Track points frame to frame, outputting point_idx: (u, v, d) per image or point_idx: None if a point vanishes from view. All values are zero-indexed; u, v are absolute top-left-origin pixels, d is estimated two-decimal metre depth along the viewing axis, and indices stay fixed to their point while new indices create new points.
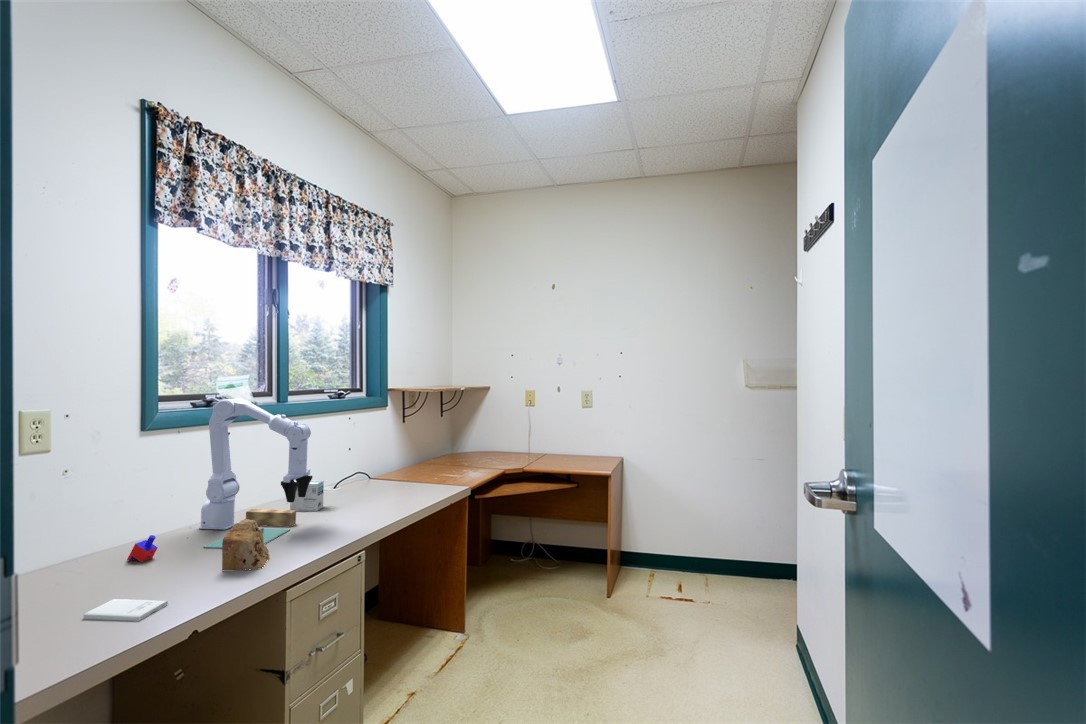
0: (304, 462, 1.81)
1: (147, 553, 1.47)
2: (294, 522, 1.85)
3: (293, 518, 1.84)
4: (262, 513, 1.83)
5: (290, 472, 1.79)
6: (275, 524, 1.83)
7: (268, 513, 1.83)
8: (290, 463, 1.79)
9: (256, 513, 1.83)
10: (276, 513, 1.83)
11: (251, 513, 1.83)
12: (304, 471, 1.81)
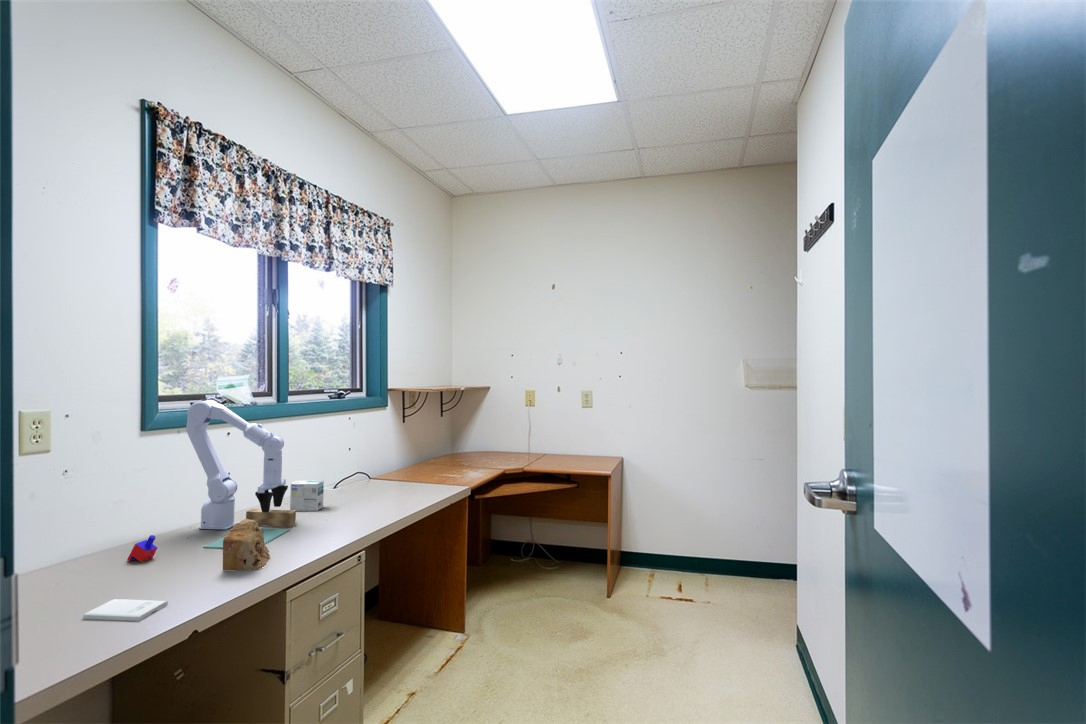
0: (279, 472, 1.84)
1: (147, 553, 1.47)
2: (294, 522, 1.85)
3: (293, 518, 1.84)
4: (262, 513, 1.83)
5: (265, 482, 1.82)
6: (275, 524, 1.83)
7: (268, 513, 1.83)
8: (265, 474, 1.83)
9: (256, 513, 1.83)
10: (276, 513, 1.83)
11: (251, 513, 1.83)
12: (279, 481, 1.84)
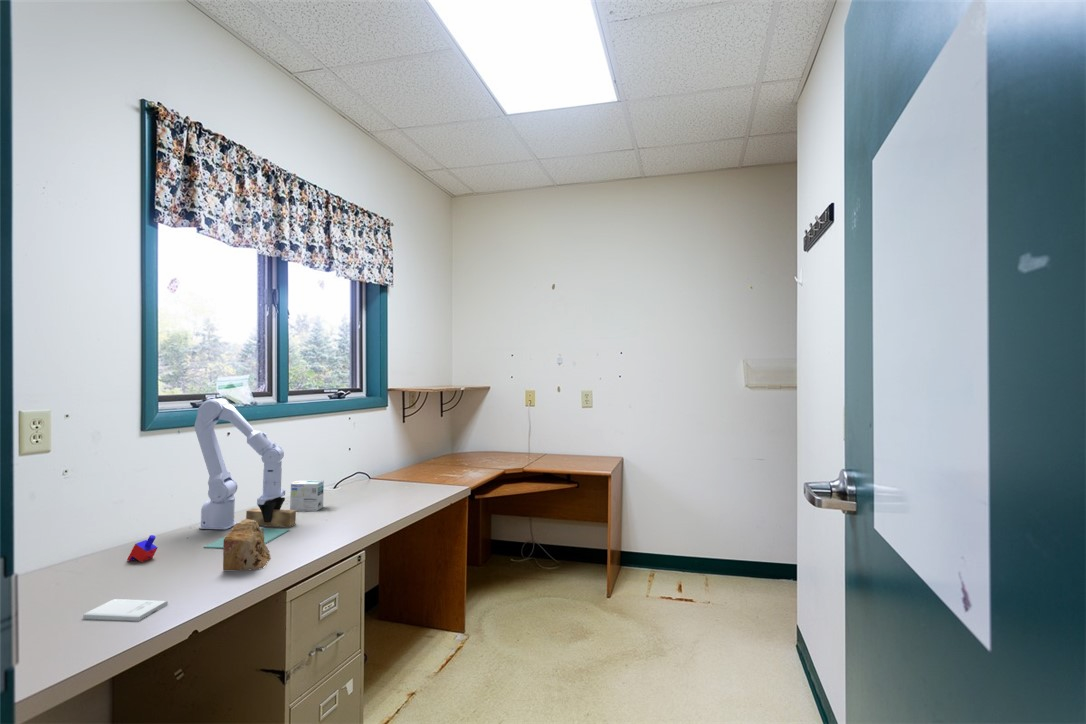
0: (278, 484, 1.84)
1: (147, 553, 1.47)
2: (294, 522, 1.85)
3: (293, 518, 1.84)
4: None
5: (264, 494, 1.82)
6: (275, 524, 1.83)
7: None
8: (264, 485, 1.83)
9: (256, 512, 1.83)
10: (276, 513, 1.83)
11: (251, 512, 1.83)
12: (278, 493, 1.84)
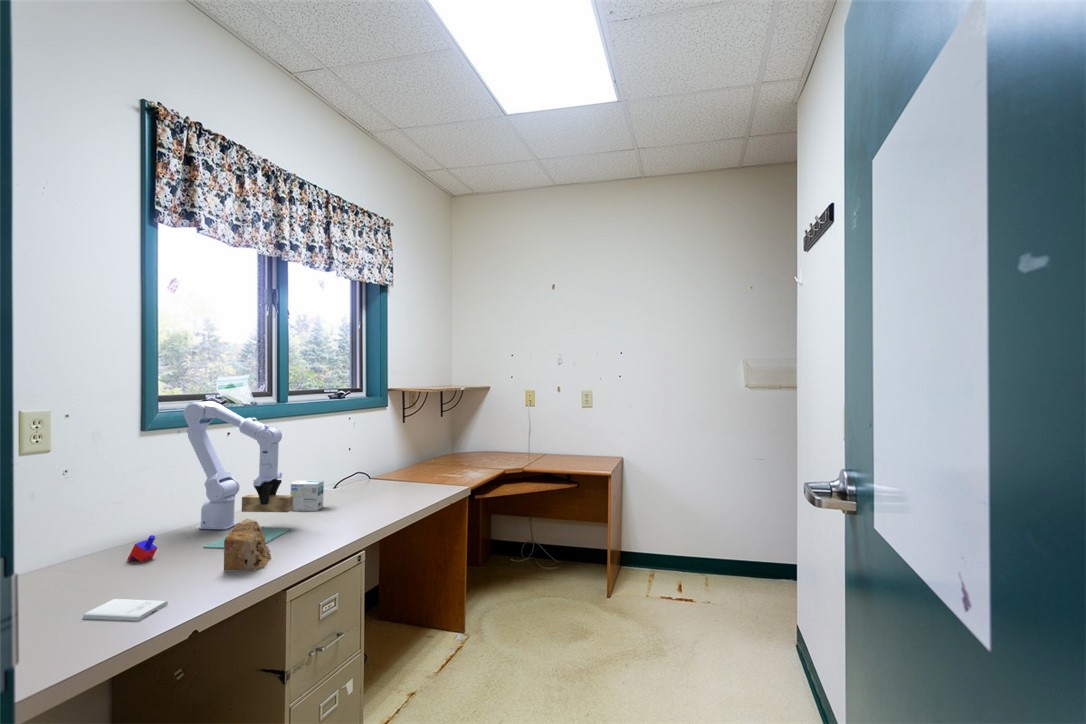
0: (275, 465, 1.81)
1: (147, 553, 1.47)
2: (291, 507, 1.82)
3: (290, 503, 1.81)
4: (258, 498, 1.80)
5: (261, 475, 1.79)
6: (272, 509, 1.80)
7: None
8: (261, 466, 1.79)
9: (252, 498, 1.80)
10: (273, 498, 1.80)
11: (247, 498, 1.80)
12: (275, 474, 1.81)
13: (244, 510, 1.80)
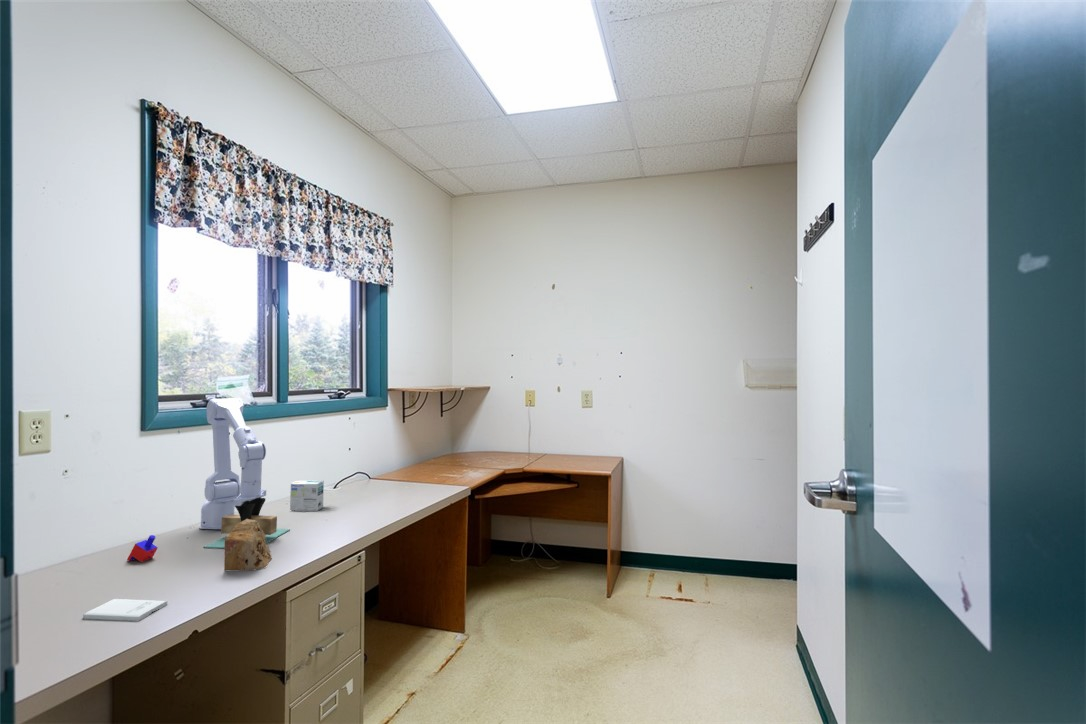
0: (258, 483, 1.68)
1: (147, 553, 1.47)
2: (275, 529, 1.69)
3: (273, 524, 1.68)
4: (239, 519, 1.67)
5: (242, 494, 1.66)
6: None
7: None
8: (242, 484, 1.67)
9: (233, 519, 1.67)
10: (255, 519, 1.67)
11: (227, 519, 1.67)
12: (258, 493, 1.68)
13: (224, 531, 1.67)
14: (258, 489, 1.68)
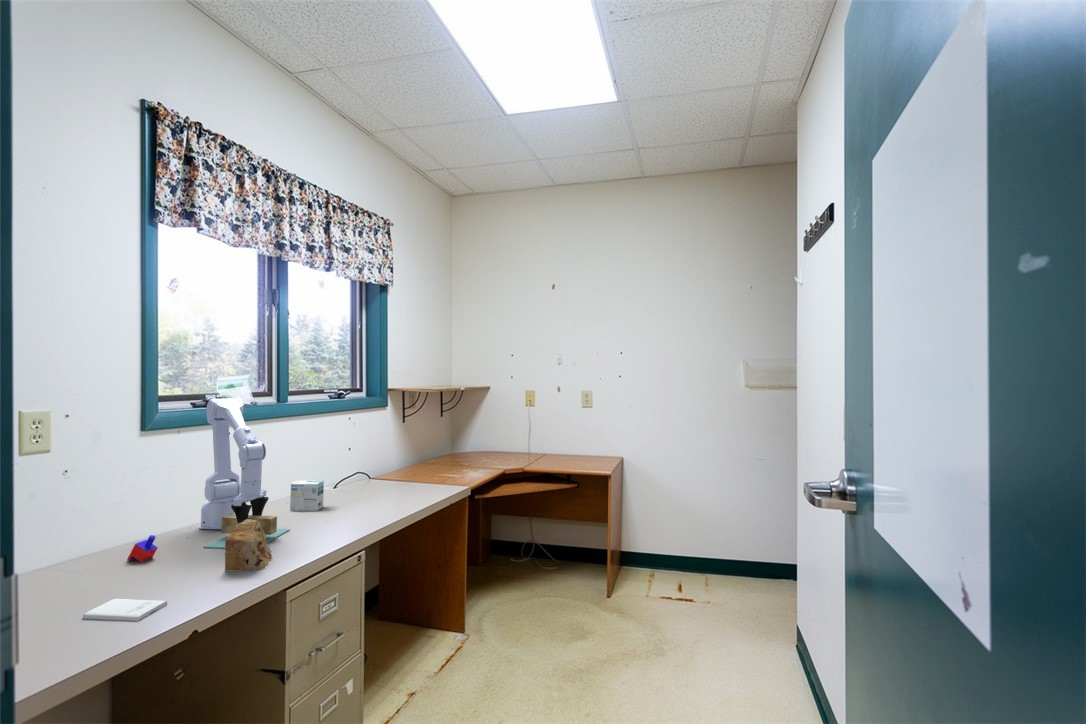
0: (258, 483, 1.68)
1: (147, 553, 1.47)
2: (275, 529, 1.69)
3: (274, 524, 1.69)
4: None
5: (242, 494, 1.66)
6: None
7: None
8: (242, 484, 1.67)
9: (233, 519, 1.67)
10: (255, 519, 1.67)
11: (227, 519, 1.67)
12: (258, 493, 1.68)
13: (224, 531, 1.67)
14: (258, 489, 1.68)
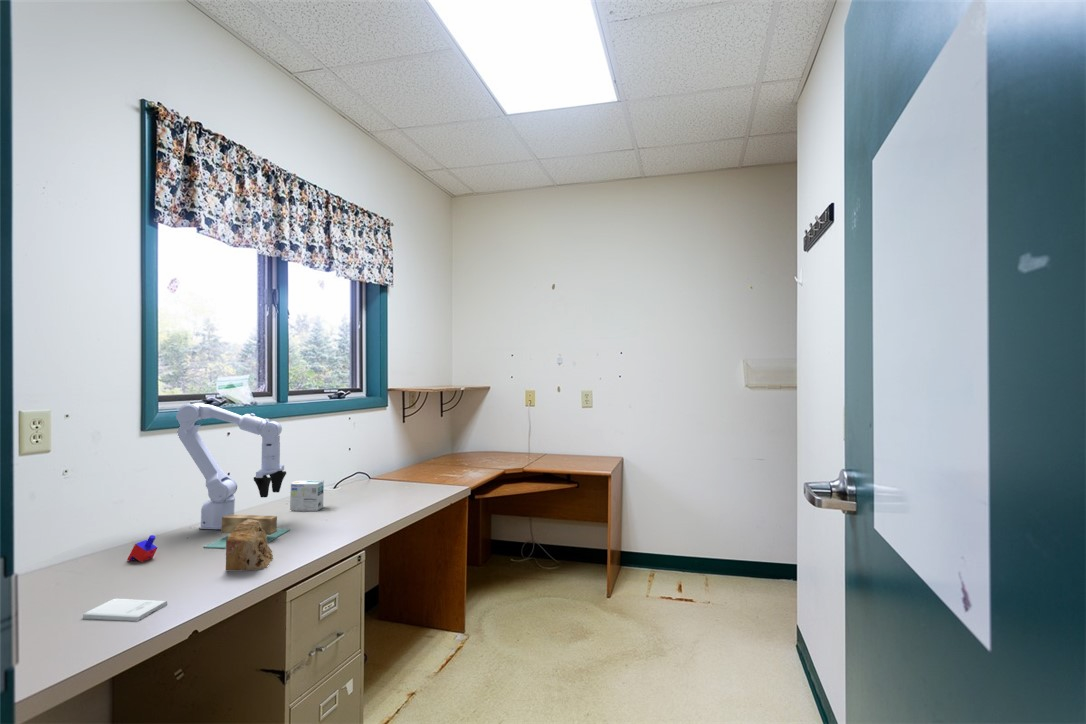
0: (277, 458, 1.85)
1: (147, 553, 1.47)
2: (275, 529, 1.69)
3: (274, 524, 1.69)
4: (239, 519, 1.67)
5: (263, 468, 1.83)
6: None
7: (246, 519, 1.67)
8: (263, 459, 1.83)
9: (233, 519, 1.67)
10: (255, 519, 1.67)
11: (227, 519, 1.67)
12: (277, 467, 1.85)
13: (224, 531, 1.67)
14: (277, 463, 1.85)
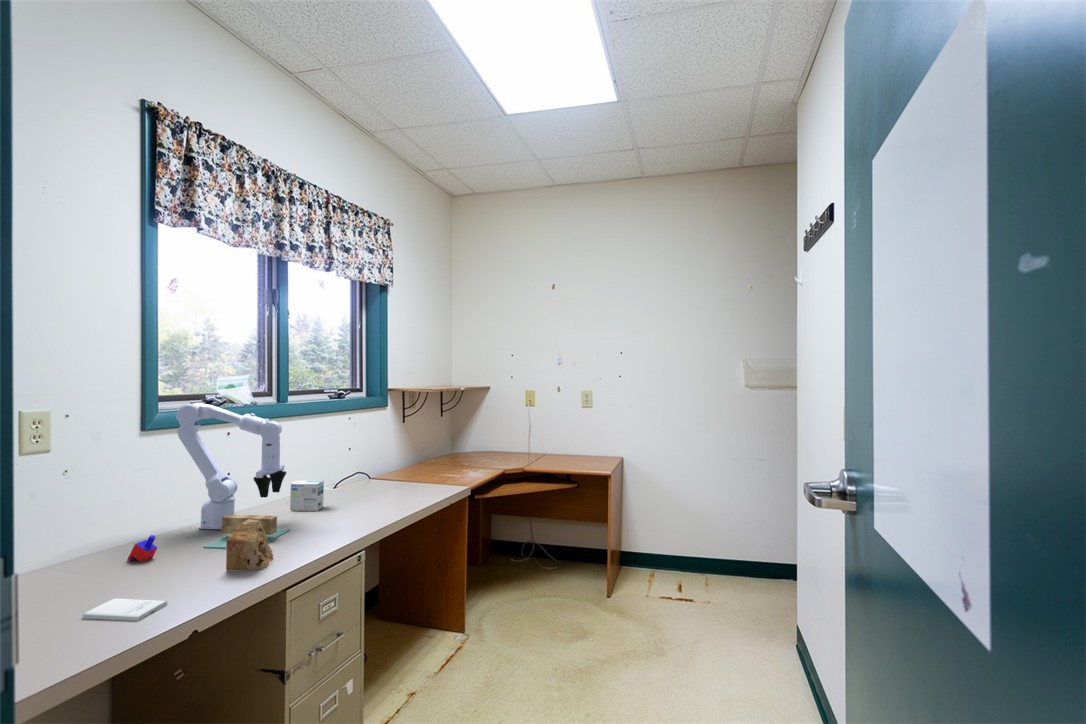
0: (277, 458, 1.85)
1: (147, 553, 1.47)
2: (275, 529, 1.69)
3: (274, 524, 1.69)
4: (239, 519, 1.67)
5: (263, 468, 1.83)
6: None
7: (246, 519, 1.67)
8: (263, 459, 1.83)
9: (233, 519, 1.67)
10: (255, 519, 1.67)
11: (227, 519, 1.67)
12: (277, 467, 1.85)
13: (224, 531, 1.67)
14: (277, 463, 1.85)
